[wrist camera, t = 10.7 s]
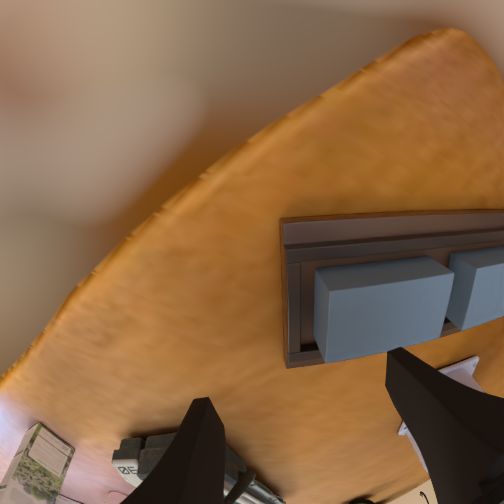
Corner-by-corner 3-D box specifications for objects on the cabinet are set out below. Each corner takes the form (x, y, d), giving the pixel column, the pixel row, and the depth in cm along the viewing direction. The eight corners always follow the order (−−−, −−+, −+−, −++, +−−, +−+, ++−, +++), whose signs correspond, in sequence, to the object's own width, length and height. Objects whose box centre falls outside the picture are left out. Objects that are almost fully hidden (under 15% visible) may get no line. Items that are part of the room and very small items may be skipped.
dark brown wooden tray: (490, 312, 21) (502, 322, 19) (283, 358, 20) (287, 376, 18) (510, 209, 17) (526, 214, 15) (279, 218, 17) (284, 227, 15)
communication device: (220, 510, 30) (220, 557, 22) (114, 432, 23) (93, 503, 14) (298, 498, 29) (306, 548, 21) (222, 415, 22) (221, 507, 13)
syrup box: (26, 429, 23) (-11, 508, 10) (39, 420, 22) (-4, 511, 9) (60, 455, 25) (31, 535, 11) (77, 448, 24) (46, 541, 10)
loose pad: (418, 316, 18) (439, 338, 15) (312, 334, 18) (324, 364, 15) (428, 255, 17) (455, 272, 14) (314, 267, 17) (329, 291, 14)
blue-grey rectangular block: (500, 294, 19) (521, 309, 16) (439, 311, 18) (461, 331, 15) (511, 244, 17) (535, 256, 14) (450, 252, 17) (477, 268, 14)
